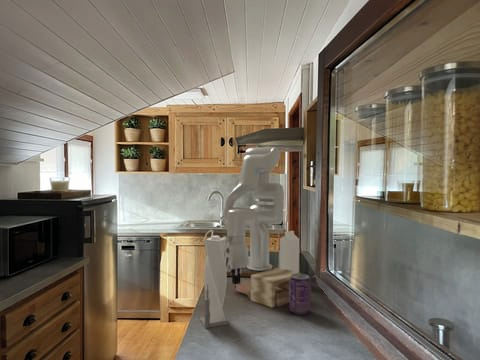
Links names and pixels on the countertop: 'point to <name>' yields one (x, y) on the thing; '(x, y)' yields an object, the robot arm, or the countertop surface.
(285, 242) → the milk
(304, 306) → the beverage can
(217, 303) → the skyscraper
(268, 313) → the countertop surface
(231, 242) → the robot arm
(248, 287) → the tile
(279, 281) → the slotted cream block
